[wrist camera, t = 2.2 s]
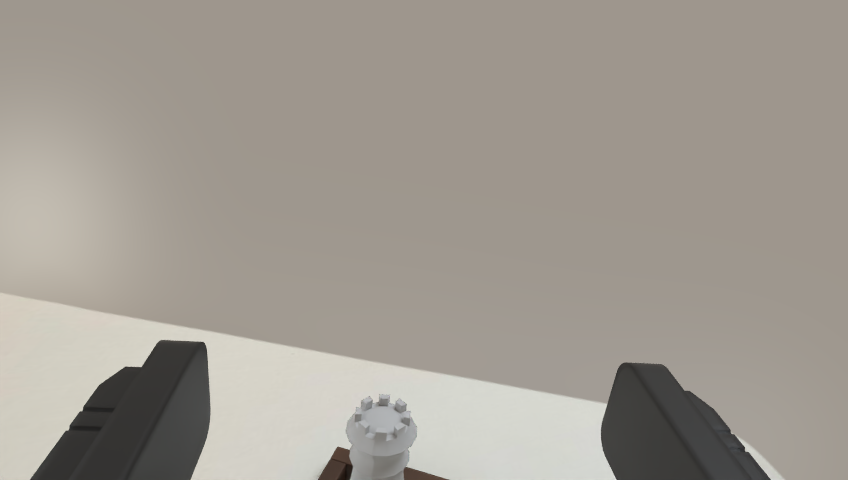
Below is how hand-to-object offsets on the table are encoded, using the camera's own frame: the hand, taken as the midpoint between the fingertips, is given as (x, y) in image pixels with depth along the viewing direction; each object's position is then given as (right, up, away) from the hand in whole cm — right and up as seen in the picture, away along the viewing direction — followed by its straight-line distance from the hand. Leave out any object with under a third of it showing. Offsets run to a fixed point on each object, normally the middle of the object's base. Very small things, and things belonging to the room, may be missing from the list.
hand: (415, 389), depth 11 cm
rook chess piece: (-2, -12, +17) cm, 22 cm away
